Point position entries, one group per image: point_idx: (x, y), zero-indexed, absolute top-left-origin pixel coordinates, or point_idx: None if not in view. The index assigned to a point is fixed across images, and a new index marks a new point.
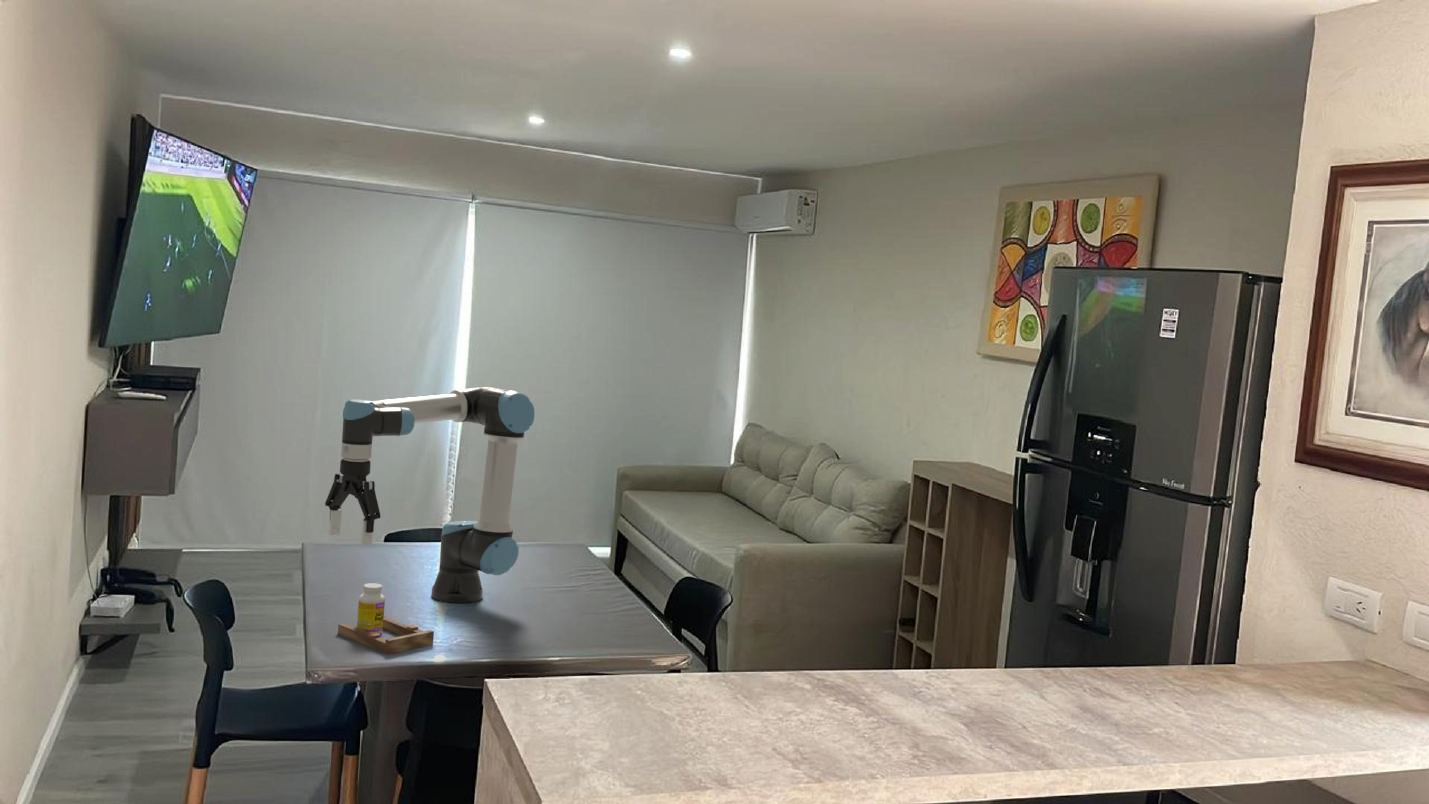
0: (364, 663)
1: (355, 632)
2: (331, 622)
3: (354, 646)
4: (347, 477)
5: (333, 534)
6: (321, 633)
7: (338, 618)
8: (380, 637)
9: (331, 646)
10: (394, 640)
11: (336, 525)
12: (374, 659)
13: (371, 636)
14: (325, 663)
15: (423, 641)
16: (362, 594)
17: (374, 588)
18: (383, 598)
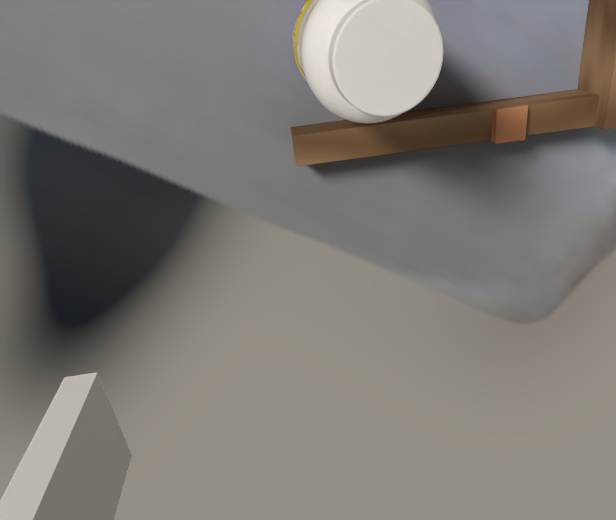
0: (603, 221)
1: (408, 149)
2: (147, 110)
3: (452, 172)
4: None
5: (121, 438)
6: (267, 203)
7: (98, 55)
8: (530, 106)
9: (410, 234)
10: None
11: (81, 503)
12: (597, 179)
13: (514, 140)
14: (529, 308)
15: None
16: (348, 104)
17: (436, 78)
18: (431, 8)
